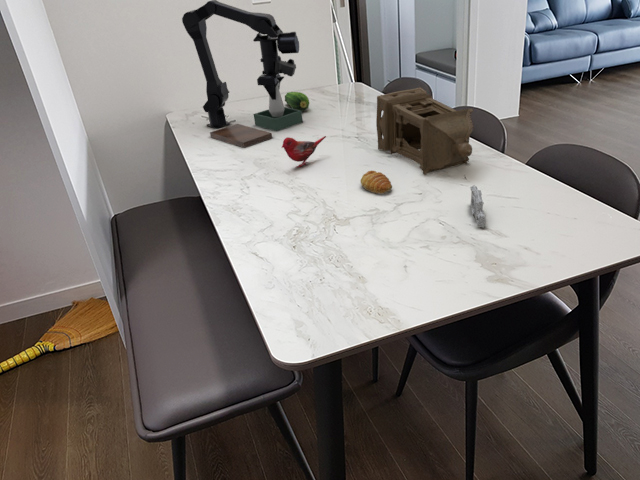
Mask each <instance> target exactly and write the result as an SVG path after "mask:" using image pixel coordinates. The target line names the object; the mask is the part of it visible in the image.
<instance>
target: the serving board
mask: <svg viewBox="0 0 640 480" xmlns="http://www.w3.org/2000/svg"><path fill="white" fill-rule="evenodd" d="M209 135H210V138H211V139H215V140H217V141H218V140H219V141H220V142H224V143H228V144H230V145H234V146H238V147H239V148H240V147H241V148H244V149H245V148H249V147H251V146H254V145H257V144H260V143H263V142H266V141H268V140H272V139H273V134H272V132H270V131H266V130H262V129H259V128H255V127H251V126H247V125H244V124H240V123H235V124H232V125H228V126H226V127H225V126H224V127H221V128H218V129H215V130H213V131H210V132H209Z"/></svg>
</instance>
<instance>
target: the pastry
mask: <svg viewBox="0 0 640 480" xmlns="http://www.w3.org/2000/svg"><path fill="white" fill-rule="evenodd" d="M360 184H361V186H362V188H364V189H365V190H366V191H367V192H368V191H369V192H370V193H373V194H381V195H384V194H386V193H389V192H391V191H392V188H393V185H392V182H391V180H390V179H389V178H388V177H387V176H386V174H384V173H382V172H381V171H380V172H379V171H376V170H368V171H366V172H365V173H364V174H363V175H362V176H361V178H360Z"/></svg>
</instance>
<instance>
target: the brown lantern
mask: <svg viewBox="0 0 640 480" xmlns="http://www.w3.org/2000/svg"><path fill="white" fill-rule="evenodd" d="M473 112H474V109H473V108H466V109H460V110H456V109H454V108H452V107H450V106H448V105H446V104H444V103H442V102H441V101H438V100H437V99H434V98H433V96H432V95H431V94H428V92H427V90H425V89H423V88H422V87H421V86H420V87H416V88H411V89H405V90H397V91H393V92H389V93H384V94H380V95H377V97H376V121H375V123H376V126H375V127H376V136H377V150H379V151H380V150H381V151H384V152H388V151H389V152H390V153H389V154H390V155H394V154H398V155H400V156H403V157H404V158H407V159H408V160H411V161H412V162H415V163H417V164H419V169H420V170H421V171H422V175H425V176H427V175H428V174H430V173H434V172H438V171H442V170H446V169H450V168H453V167H456V166H460V165H464V164H466V165H467V164H468V162H469V160H470V158H469V157H470V156H471V155H472V153H473V147H472V145H471V143H470V138H471V135H472V132H473V131H474V124H473V121H472V120H473V118H472V116H471V115H472V113H473Z"/></svg>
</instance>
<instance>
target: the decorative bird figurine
mask: <svg viewBox="0 0 640 480" xmlns="http://www.w3.org/2000/svg"><path fill="white" fill-rule="evenodd" d="M326 138H327V135H325V136H322V137H321V138H318V139H317V140H316V141H311V140H310V141H309V140H296V139H295V138H293V137H288V136H287V137H284V139H283V141H282V145H281V149H283V150H284V151H285V152H286V155H287V157H288V158H289V159H290V160H292V161H294V162H301V163H300V164H298V166H297V165H296V166H295V168H302V167H303V166H305V165H306V164H309V162H308V161H307V160H308V159H309V158H310V157H311V156H312V155H313V154H314V153H315V151H316V149H317V147H318V146H319V144H320V143H321V142H323V141H324V140H325V139H326Z"/></svg>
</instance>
